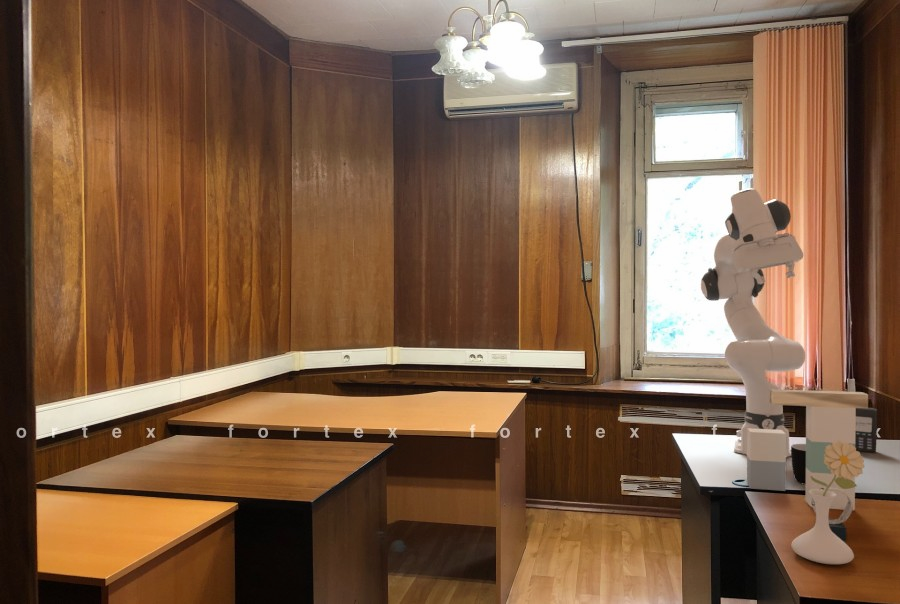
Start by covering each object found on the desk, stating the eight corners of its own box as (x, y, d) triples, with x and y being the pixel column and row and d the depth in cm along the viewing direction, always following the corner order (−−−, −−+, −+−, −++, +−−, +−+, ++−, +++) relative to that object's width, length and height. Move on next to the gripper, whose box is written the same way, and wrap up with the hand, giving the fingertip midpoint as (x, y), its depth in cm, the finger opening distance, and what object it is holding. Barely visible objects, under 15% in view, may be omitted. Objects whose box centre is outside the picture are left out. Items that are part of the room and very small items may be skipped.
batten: (769, 402, 172) (769, 389, 172) (862, 405, 166) (862, 392, 166) (772, 404, 168) (772, 391, 168) (867, 408, 163) (868, 394, 163)
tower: (805, 500, 171) (806, 403, 170) (847, 503, 168) (848, 404, 168) (811, 507, 166) (811, 406, 165) (854, 510, 163) (855, 408, 163)
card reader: (844, 450, 223) (845, 407, 223) (845, 447, 227) (845, 405, 226) (876, 453, 218) (876, 409, 218) (876, 451, 221) (876, 408, 221)
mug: (833, 486, 183) (833, 451, 183) (802, 487, 183) (802, 451, 182) (807, 474, 195) (807, 440, 195) (778, 474, 194) (778, 441, 194)
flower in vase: (795, 565, 131) (796, 443, 131) (787, 544, 142) (788, 431, 142) (869, 575, 127) (870, 448, 126) (856, 552, 137) (857, 436, 137)
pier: (746, 483, 186) (747, 428, 186) (781, 485, 184) (781, 429, 184) (750, 488, 181) (750, 431, 181) (785, 490, 179) (785, 433, 179)
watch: (808, 529, 151) (809, 482, 150) (848, 533, 148) (848, 486, 148) (814, 538, 145) (815, 490, 145) (855, 542, 143) (855, 493, 143)
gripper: (786, 236, 199) (803, 277, 195) (724, 247, 197) (740, 289, 193) (797, 227, 193) (815, 270, 189) (734, 239, 191) (750, 282, 187)
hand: (776, 280), depth 191 cm, fingers open, 8 cm apart
